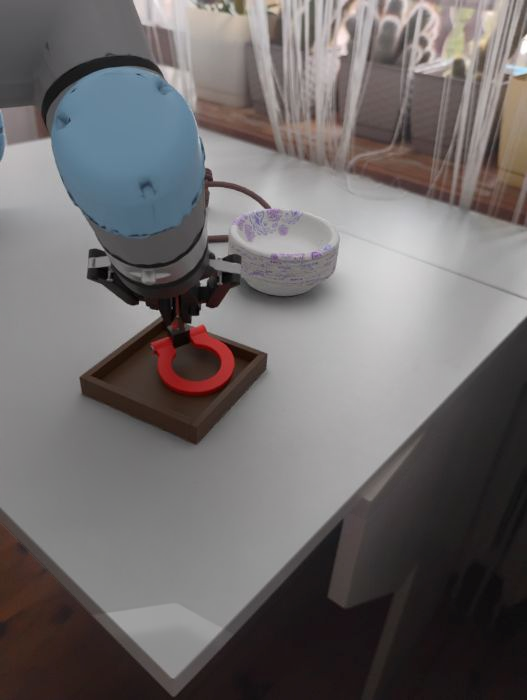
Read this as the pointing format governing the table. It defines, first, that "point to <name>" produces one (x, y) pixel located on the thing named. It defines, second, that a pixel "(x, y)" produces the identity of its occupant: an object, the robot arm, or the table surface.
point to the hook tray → (159, 400)
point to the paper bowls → (284, 250)
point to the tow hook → (200, 339)
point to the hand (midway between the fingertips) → (178, 311)
